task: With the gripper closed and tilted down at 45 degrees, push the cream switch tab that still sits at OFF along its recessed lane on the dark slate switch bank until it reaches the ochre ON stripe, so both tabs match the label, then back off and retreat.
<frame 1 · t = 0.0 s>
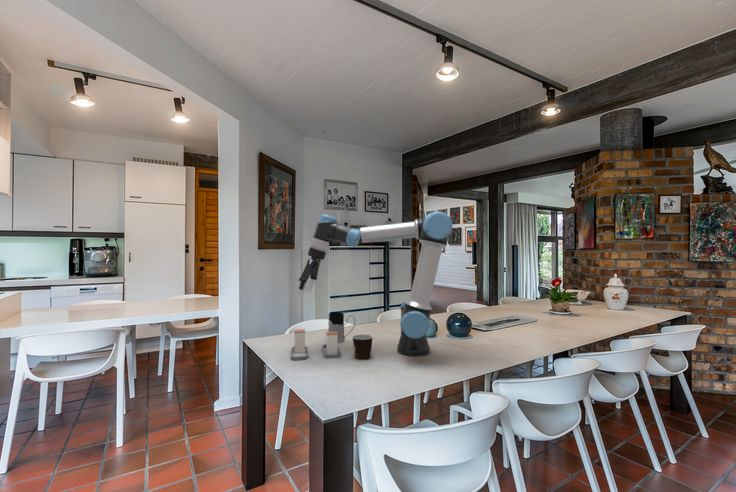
hand: (303, 294, 153), 28 cm above the table, tool tilted 20°, fingers open, 13 cm apart
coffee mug: (363, 359, 151), on the table
tab B: (299, 341, 158), point 6 cm above the table, slide at 0.0 cm
switch bank: (315, 355, 155), on the table
grey pitcher: (341, 343, 176), on the table
tab A: (331, 343, 154), point 6 cm above the table, slide at 7.0 cm
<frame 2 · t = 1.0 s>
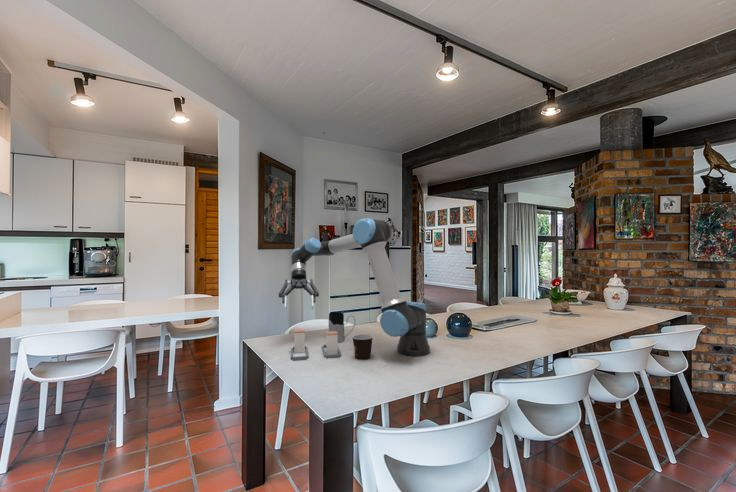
hand: (299, 308, 165), 20 cm above the table, tool tilted 45°, fingers open, 12 cm apart
nothing on the table moved.
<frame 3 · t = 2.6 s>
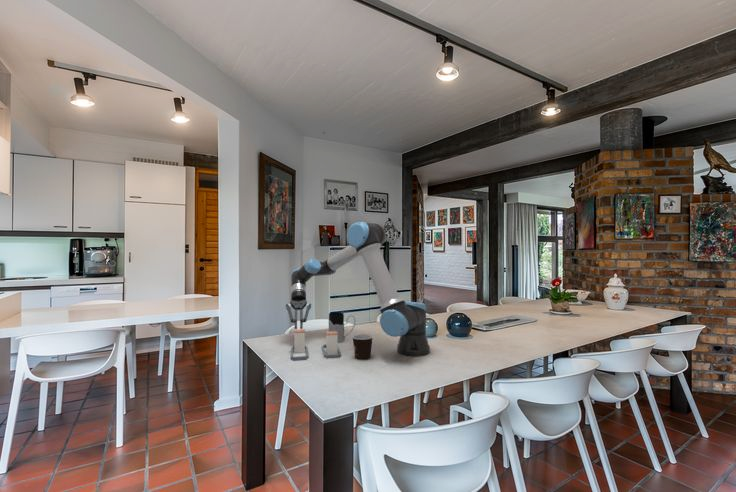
hand: (298, 334, 164), 8 cm above the table, tool tilted 45°, fingers closed
nothing on the table moved.
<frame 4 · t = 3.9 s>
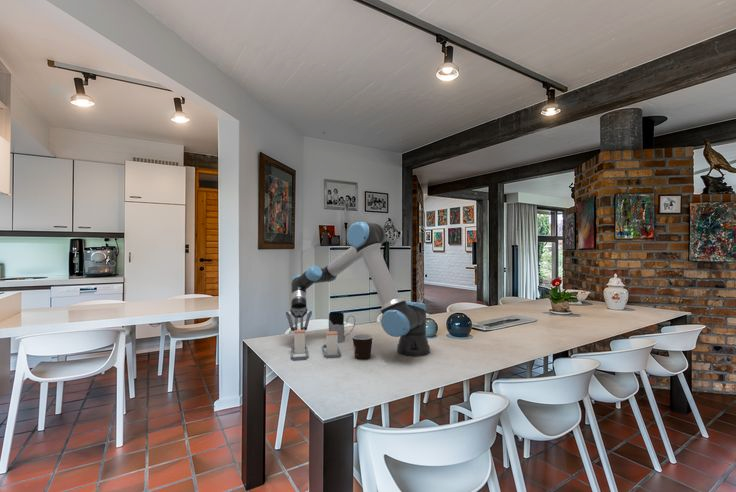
hand: (299, 343, 160), 4 cm above the table, tool tilted 45°, fingers closed
tab B: (299, 341, 157), point 6 cm above the table, slide at 0.8 cm, touching gripper
everything else where it was.
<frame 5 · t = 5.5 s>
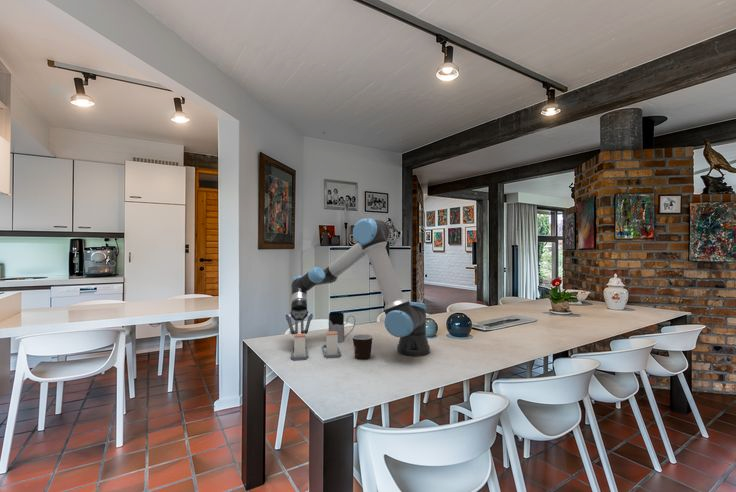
hand: (299, 347, 153), 5 cm above the table, tool tilted 45°, fingers closed
tab B: (299, 345, 150), point 6 cm above the table, slide at 8.0 cm, touching gripper
everything else where it was.
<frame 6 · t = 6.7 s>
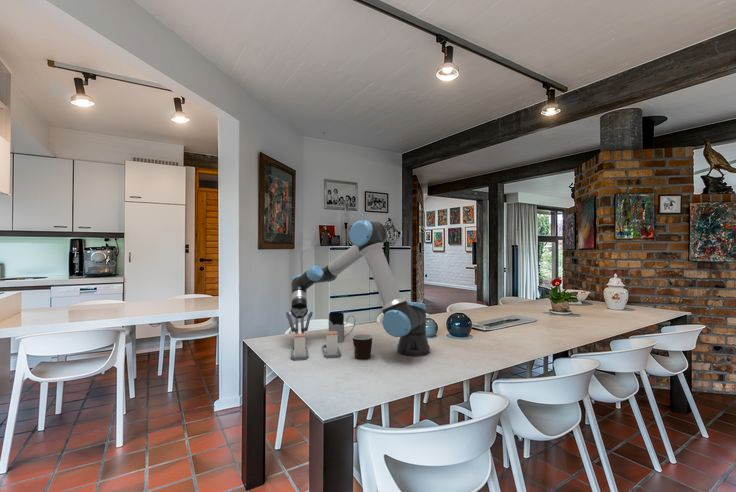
hand: (299, 344, 158), 5 cm above the table, tool tilted 45°, fingers closed
tab B: (299, 345, 150), point 6 cm above the table, slide at 8.0 cm
everything else where it was.
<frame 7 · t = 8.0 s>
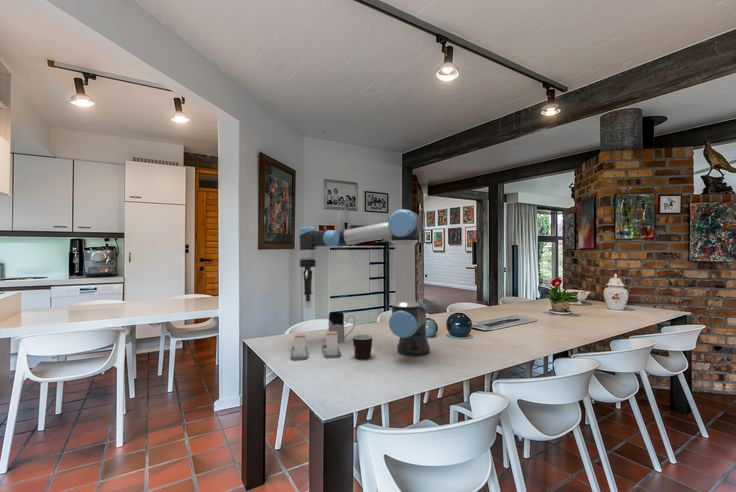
hand: (308, 307, 167), 20 cm above the table, tool pointing down, fingers closed
nothing on the table moved.
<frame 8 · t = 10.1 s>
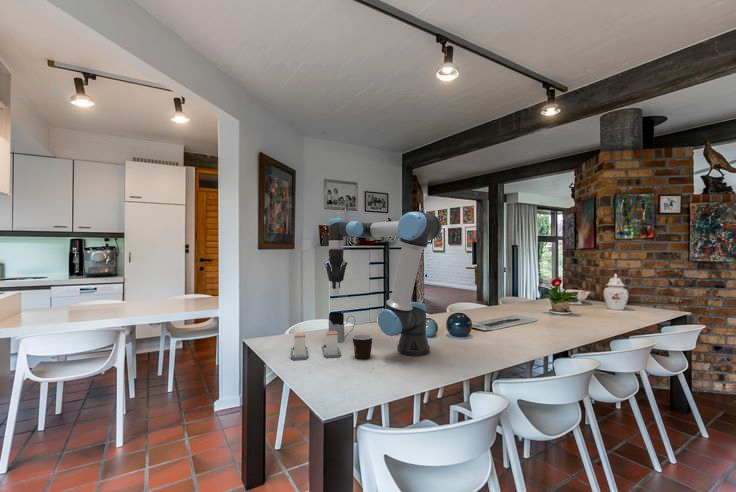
hand: (336, 295, 177), 24 cm above the table, tool pointing down, fingers closed
nothing on the table moved.
at the end: tab B slide at 8.0 cm; tab A slide at 7.0 cm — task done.
